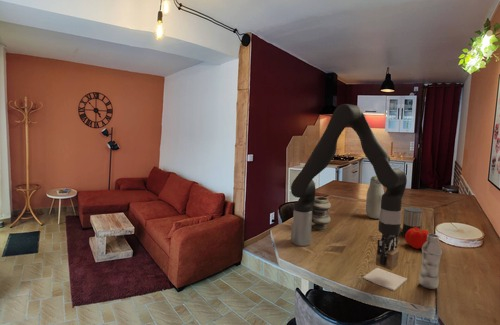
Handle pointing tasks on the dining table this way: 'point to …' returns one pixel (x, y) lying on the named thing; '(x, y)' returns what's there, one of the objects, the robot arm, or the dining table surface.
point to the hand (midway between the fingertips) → (386, 262)
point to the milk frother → (411, 219)
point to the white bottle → (374, 198)
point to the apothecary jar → (320, 213)
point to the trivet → (385, 279)
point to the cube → (389, 259)
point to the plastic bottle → (430, 262)
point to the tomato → (416, 237)
